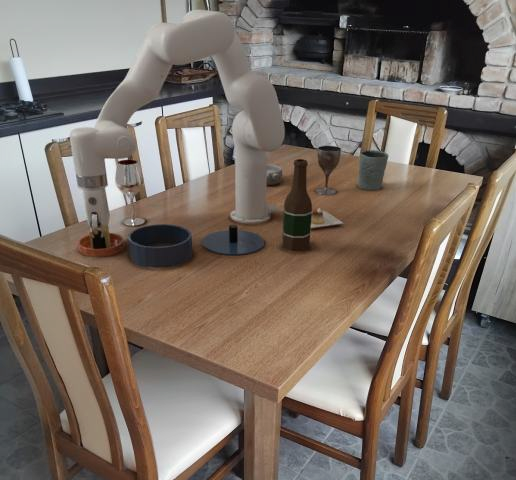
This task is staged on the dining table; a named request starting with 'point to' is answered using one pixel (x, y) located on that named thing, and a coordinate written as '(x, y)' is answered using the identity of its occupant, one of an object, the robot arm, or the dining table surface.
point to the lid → (233, 242)
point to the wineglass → (129, 185)
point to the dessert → (323, 219)
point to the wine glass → (328, 164)
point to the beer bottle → (297, 211)
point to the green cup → (372, 169)
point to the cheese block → (105, 233)
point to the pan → (160, 255)
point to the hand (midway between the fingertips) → (101, 244)
